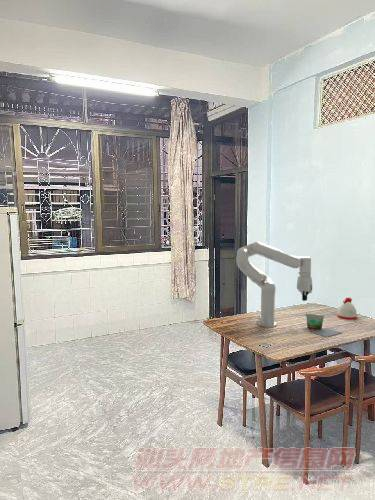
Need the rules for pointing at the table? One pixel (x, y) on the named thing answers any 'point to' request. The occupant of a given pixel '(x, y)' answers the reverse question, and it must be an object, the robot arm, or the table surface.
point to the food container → (314, 321)
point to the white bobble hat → (347, 310)
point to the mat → (326, 332)
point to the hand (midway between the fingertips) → (304, 300)
